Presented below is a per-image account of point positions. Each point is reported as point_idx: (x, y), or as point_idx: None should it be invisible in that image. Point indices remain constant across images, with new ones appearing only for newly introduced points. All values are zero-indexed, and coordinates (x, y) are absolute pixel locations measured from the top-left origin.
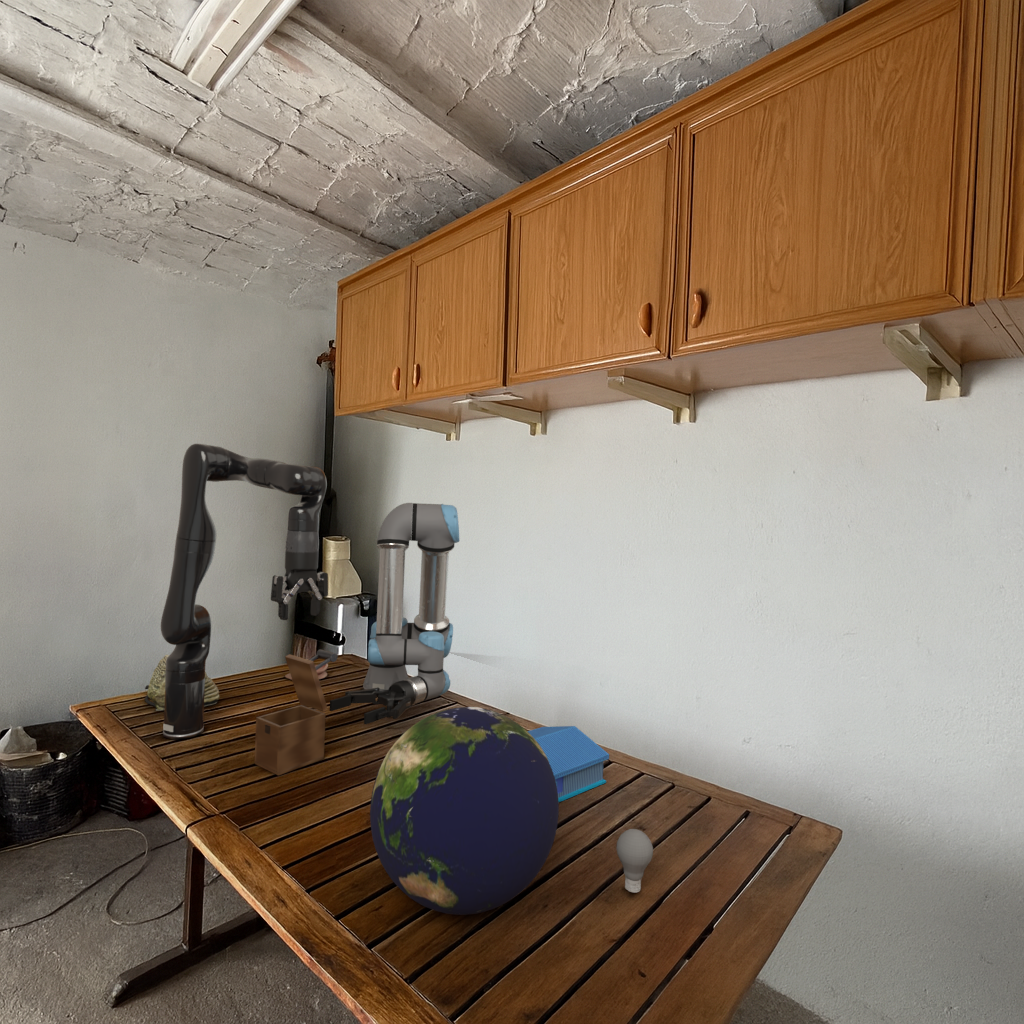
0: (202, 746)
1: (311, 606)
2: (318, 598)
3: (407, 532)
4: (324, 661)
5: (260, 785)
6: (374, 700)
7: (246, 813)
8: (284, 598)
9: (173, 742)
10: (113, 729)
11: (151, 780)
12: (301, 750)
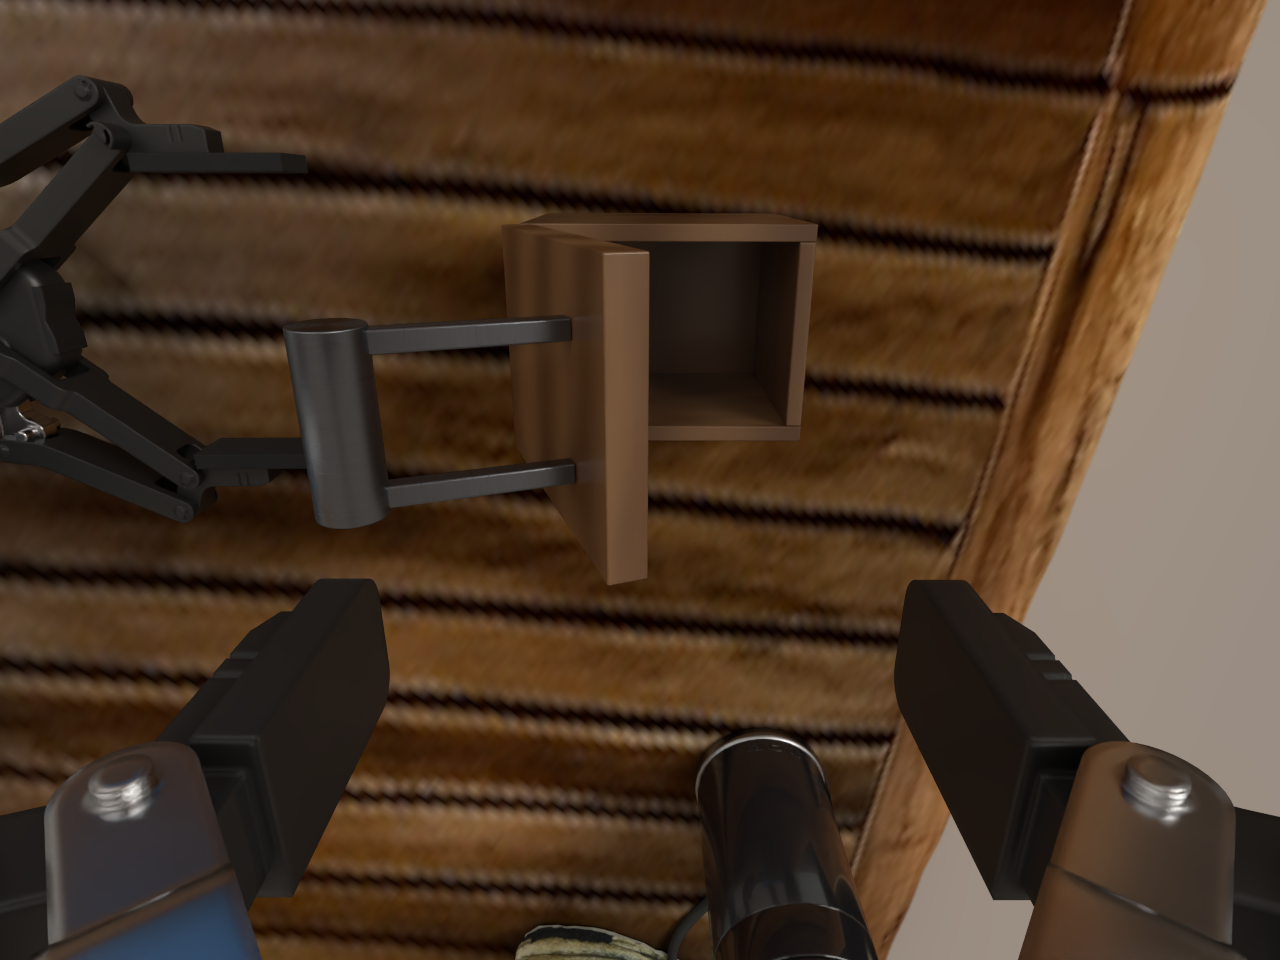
0: (783, 644)
1: (340, 773)
2: (179, 772)
3: None
4: (427, 335)
5: (871, 189)
6: (90, 377)
7: (1062, 2)
8: (1230, 873)
9: (823, 732)
10: (873, 924)
11: (1053, 513)
12: (669, 216)
